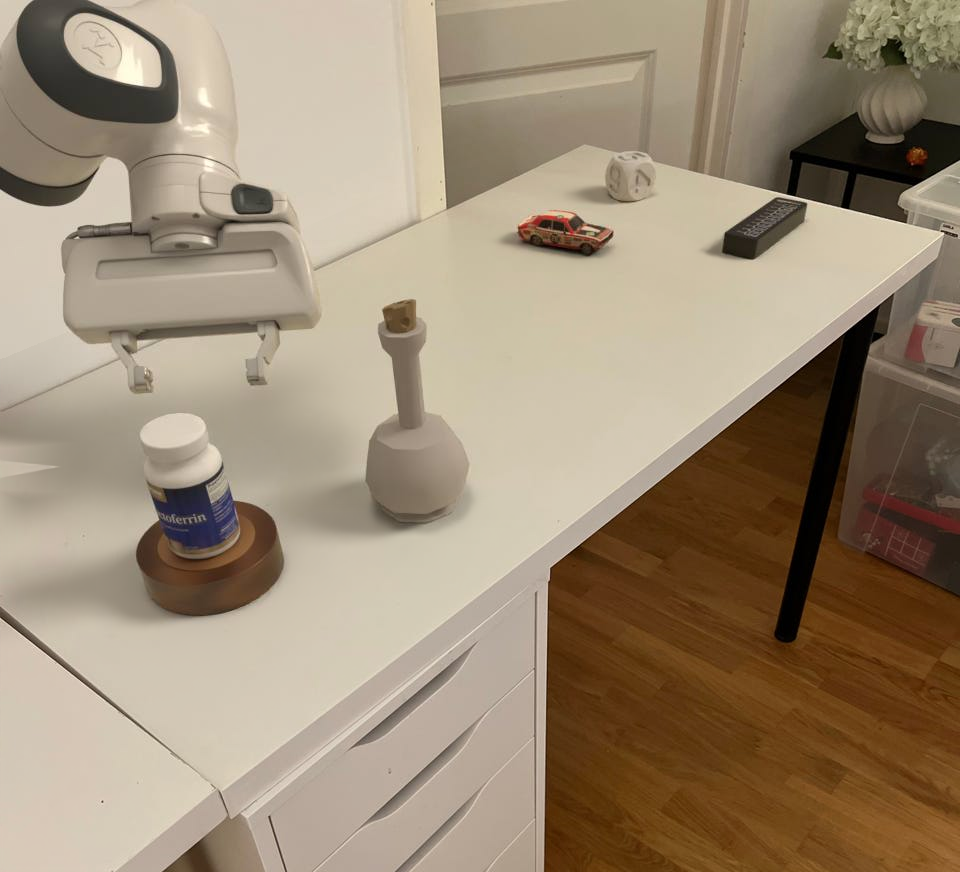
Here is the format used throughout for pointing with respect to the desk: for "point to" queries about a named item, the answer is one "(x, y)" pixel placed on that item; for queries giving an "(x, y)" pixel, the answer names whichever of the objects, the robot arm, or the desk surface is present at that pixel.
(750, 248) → the remote control
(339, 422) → the desk surface
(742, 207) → the desk surface
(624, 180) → the die
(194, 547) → the pill bottle
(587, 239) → the race car
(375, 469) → the potion bottle
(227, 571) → the brown wooden disc
